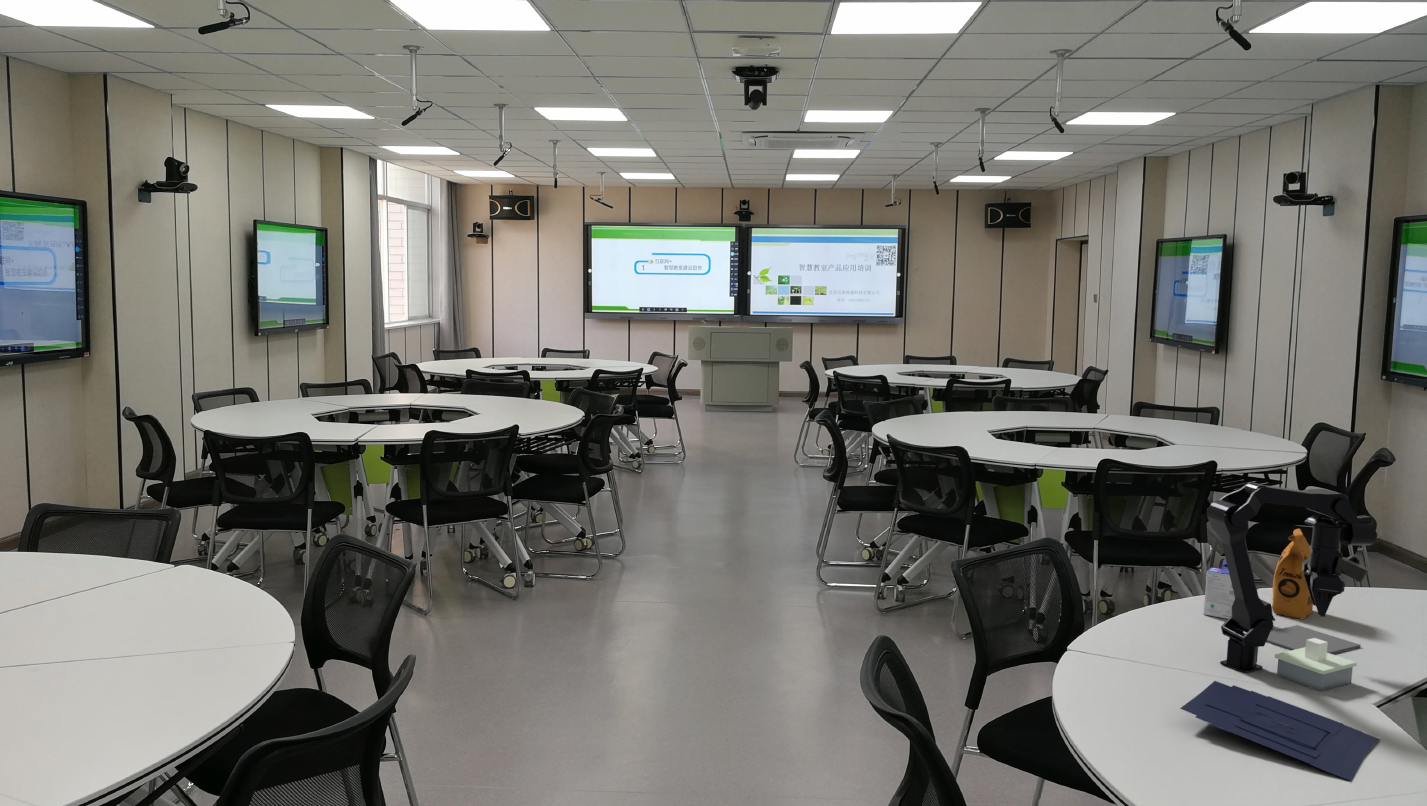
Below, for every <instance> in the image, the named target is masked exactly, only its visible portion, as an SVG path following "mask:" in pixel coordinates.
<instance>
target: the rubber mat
mask: <svg viewBox="0 0 1427 806" xmlns="http://www.w3.org/2000/svg"><path fill="white" fill-rule="evenodd" d="M1312 638H1317V639H1320V640H1323V641H1326V642H1328V646H1327V653H1330V654H1333V655H1336V654H1338V653H1342V652H1347V651H1350V650H1354V649H1358V648H1359V649H1360V648H1361V646H1362V645H1361V644H1359V643H1356V642H1353V641H1349V640H1347V639H1344V638H1340V637H1337V636H1334V635H1331V634H1328V633H1327V634H1326V633H1324V632H1321V631H1318V630H1314V629H1312V628H1308V627H1304V626H1302V625H1298V624H1296V625H1292V626H1287V627H1282V628H1278V629H1274V630H1271V632H1270V634H1269V636H1268V638H1267V641H1266V643H1268V644H1271V645H1274V646H1277V647H1280V648H1282V649H1286V650H1288V651H1291V650H1295V649H1300V648H1304V647H1306V640H1308V639H1312Z"/></svg>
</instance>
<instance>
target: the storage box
mask: <svg viewBox="0 0 1427 806" xmlns="http://www.w3.org/2000/svg"><path fill="white" fill-rule="evenodd" d="M1353 668H1354V667H1350V668H1346V669H1342V670H1339V671H1335V672H1331V673H1327V674H1320V673H1317V672H1314V671H1311V670H1308V669H1306V668H1303V667H1300V666H1297V665H1294V664H1291V663H1288V662H1285V661H1283V660H1280V659H1277V667H1276V670H1277V671H1276V676H1278V677H1281V678H1284V679H1286V680H1289V681H1291V682H1294V683H1297V684H1300V685H1303V686H1305V687H1308V688H1311V689H1313V690H1316V691H1319V692H1322V691H1326V690H1330V689H1334V688H1337V687H1340V686H1341V687H1342V686H1345V685H1348V684H1351V683H1352V679H1353V678H1352V677H1353Z"/></svg>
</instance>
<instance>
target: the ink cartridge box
mask: <svg viewBox="0 0 1427 806" xmlns="http://www.w3.org/2000/svg"><path fill="white" fill-rule="evenodd" d="M1225 565H1226V566H1225ZM1205 575H1206V576H1205V588H1204V589H1205V590H1204V592H1205V593H1204V600H1203V601H1204V603H1203V615H1204V616H1205V615H1206V616H1211V617H1216V618H1221V619H1227V620H1228V619H1229V618H1230V617H1231V616H1232V605H1233V602H1234V600H1235V595H1234V591H1233V587H1232V583H1231V579H1230V574H1229V570H1228V566H1227V562H1226V560H1222V564H1221V567H1220V568H1217V567H1210V568H1209V569H1208V570H1207V571H1206V574H1205Z"/></svg>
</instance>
